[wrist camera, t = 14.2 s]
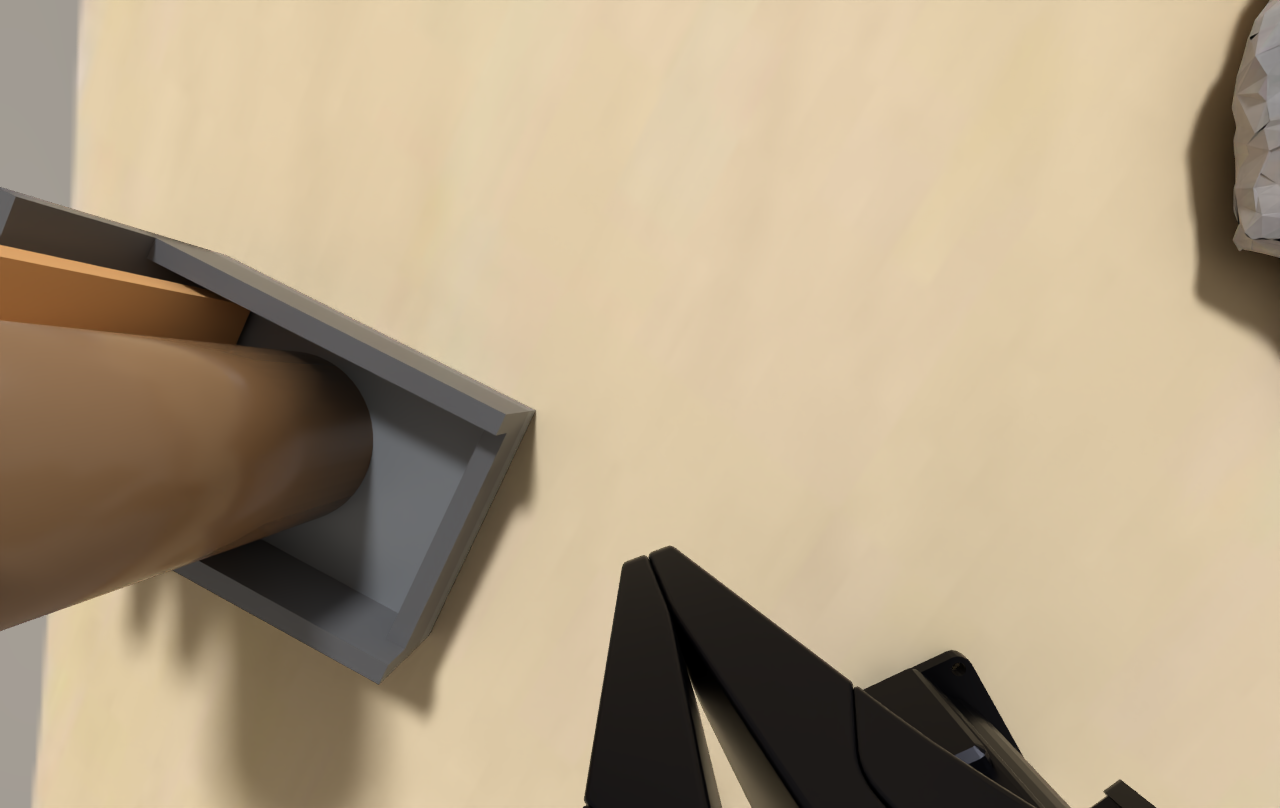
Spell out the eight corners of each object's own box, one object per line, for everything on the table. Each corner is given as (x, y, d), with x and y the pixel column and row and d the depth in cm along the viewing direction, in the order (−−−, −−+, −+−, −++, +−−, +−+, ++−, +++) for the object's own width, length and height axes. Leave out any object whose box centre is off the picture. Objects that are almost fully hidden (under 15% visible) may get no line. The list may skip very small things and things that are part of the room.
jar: (408, 415, 19) (-99, 460, 6) (315, 558, 19) (-321, 853, 7) (268, 314, 19) (-465, 175, 7) (180, 457, 19) (-652, 568, 7)
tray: (535, 410, 19) (457, 421, 12) (428, 635, 20) (297, 764, 13) (226, 255, 20) (-8, 184, 13) (133, 475, 20) (-135, 516, 14)
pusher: (251, 306, 19) (-2, 256, 12) (174, 487, 19) (-113, 542, 12) (227, 293, 19) (-41, 236, 12) (150, 474, 19) (-150, 521, 12)
